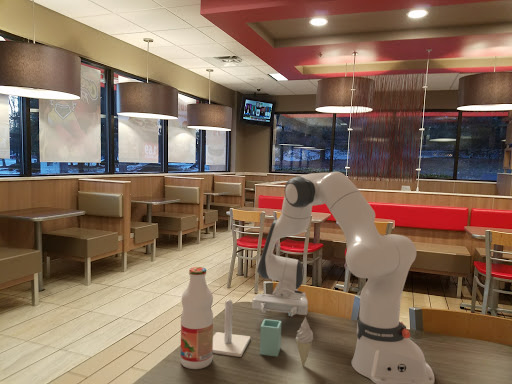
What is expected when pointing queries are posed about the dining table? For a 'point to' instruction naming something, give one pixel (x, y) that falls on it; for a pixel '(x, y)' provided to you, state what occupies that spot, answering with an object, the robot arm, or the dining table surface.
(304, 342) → the ice cream cone
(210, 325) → the fruit juice
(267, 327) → the sleeve
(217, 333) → the post stand
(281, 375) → the dining table surface
